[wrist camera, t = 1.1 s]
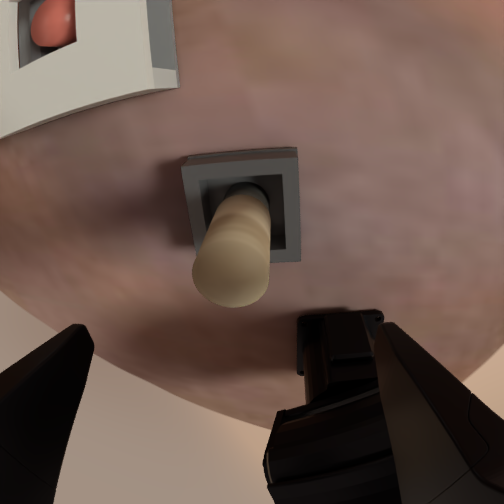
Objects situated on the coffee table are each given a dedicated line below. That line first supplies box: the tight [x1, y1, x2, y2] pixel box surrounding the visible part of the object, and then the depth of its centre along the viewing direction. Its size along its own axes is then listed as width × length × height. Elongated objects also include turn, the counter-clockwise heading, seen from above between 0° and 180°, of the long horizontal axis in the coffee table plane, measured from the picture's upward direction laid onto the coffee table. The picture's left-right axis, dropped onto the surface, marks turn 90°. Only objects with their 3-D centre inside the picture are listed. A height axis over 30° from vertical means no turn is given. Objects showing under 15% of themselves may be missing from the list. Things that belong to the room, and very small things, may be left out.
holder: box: [181, 147, 301, 263], centre depth 17 cm, size 6×6×2 cm
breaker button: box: [31, 0, 77, 47], centre depth 11 cm, size 3×3×2 cm
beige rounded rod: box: [192, 182, 271, 308], centre depth 15 cm, size 3×3×8 cm
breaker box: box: [0, 0, 180, 139], centre depth 11 cm, size 11×11×5 cm
